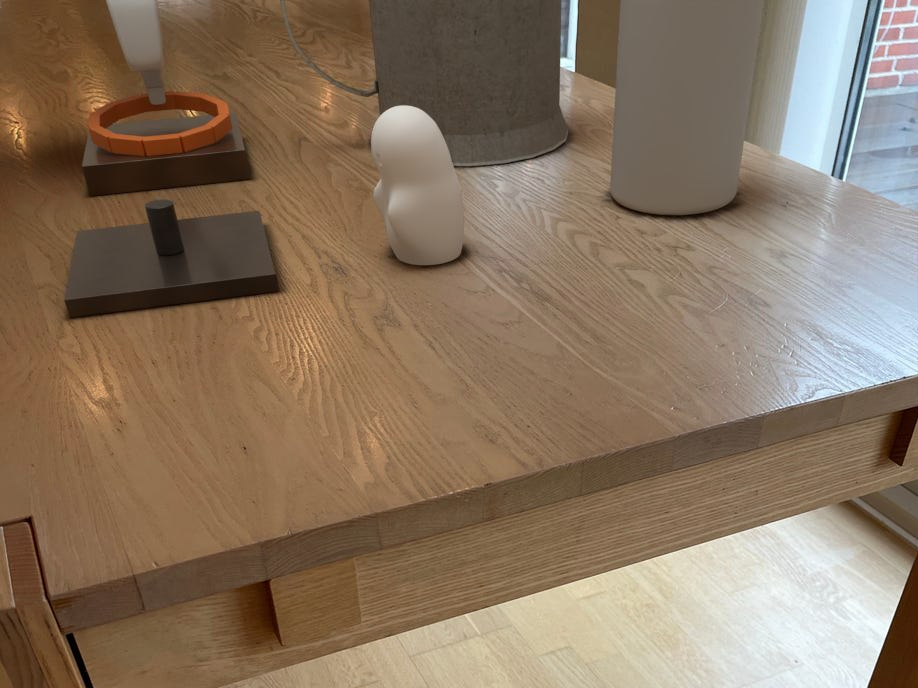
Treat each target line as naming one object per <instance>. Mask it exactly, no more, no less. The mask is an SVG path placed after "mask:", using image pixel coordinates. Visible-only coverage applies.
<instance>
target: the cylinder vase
mask: <svg viewBox="0 0 918 688" xmlns="http://www.w3.org/2000/svg"><path fill="white" fill-rule="evenodd" d="M619 2H620V3H619V6H620V7H619V22H618V36H617V37H618V40H617V56H616V57H617V59H616V74H615V90H614V91H615V93H614V110H613V126H612V127H613V128H612V145H611V146H612V147H611V162H610V163H611V165H610V180H609V181H610V182H609V191H610V192H609V193H610V195H611V197H612V198H613V199H614V200H615V201H616V202H617V203H618V204H619V205H621V206H623V207H625V208H627V209H630V210H633V211H636V212H640V213H643V214H644V213H645V214H651V215H657V216H658V215H659V216H690V215H698V214H704V213H709V212H713V211H716V210H719V209H721V208H724V207H726V206H727V205H729V204H730V203H731V202H732V201H733V200H734V198H735V197H736V195H737V193H738V187H739V180H740V173H741V165H742V159H743V152H744V143H745V137H746V130H747V122H748V118H749V117H748V115H749V108H750V101H751V95H752V86H753V80H754V73H755V65H756V59H757V54H758V53H757V51H758V44H759V38H760V31H761V23H762V16H763V9H764V4H765V3H764V2H765V0H620V1H619Z"/></svg>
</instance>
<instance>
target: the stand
mask: <svg viewBox="0 0 918 688" xmlns="http://www.w3.org/2000/svg"><path fill="white" fill-rule="evenodd" d="M229 113H230V118H231V124H232V130H231V131H230V132H229V133H227V134H226V135H225V136H224V137H222V138H221V139H220V140H219V141H217V142H215V143H213V144H210V145H207V146H204V147H200V148H197V149H194V150H191V151H188V152H184V151H183V153H176V154H166V155H156V156H147V155H146V156H135V155H126V154H116V153H113V152H112V153H111V152H109V151H107V150H105V149H103V148H101V147H99V146H97V145H95V144H93V142H92V139H91V135H90V132H89V131H88V133H87V139H86V144H85V147H84V153H83V159H82V163H81V169H82V172H83V176H84V178H85V180H84V181H85V183H86V186H87V190H88V194H89V196H90V197H96V196H104V195H115V194H124V193H133V192H141V191H142V192H143V191H151V190H162V189H171V188H181V187H188V186H189V187H191V186H198V185H208V184H217V183H227V182H236V181H238V182H239V181H245V180H251V175H250V169H249V164H248V158H247V152H246V147H245V144H244V140H243V137H242V132H241V128H240V124H239V121H238V116H237V113H236V112H229ZM214 118H215V117H214V116H212V115H209V114H206V115H194V116H183V117H174V118H163V119H153V120H142V121H141V120H140V121H131V122H121V123H114V124H112V125H111V126H109V127H108V128H106V129H107V130H109V131H111V132H113V133H115V134H122V135H132V136H142V137H148V136H158V135H168V134H178V133H181V132H185V131H188V130H191V129H195V128H198V127H201V126H204V125H206V124H207V123H209V122H210V121H211V120H212V119H214Z"/></svg>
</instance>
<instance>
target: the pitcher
mask: <svg viewBox="0 0 918 688" xmlns="http://www.w3.org/2000/svg"><path fill="white" fill-rule="evenodd" d="M279 1H280V8H281V13H282V18H283V21H284V25H285V29H286V32H287V35H288V37H289V40H290V42H291V44H292V45H293V48H294V49H295V50H296V52H297V53H298V55H299V56H300V57H301V58H302V60H303V61H304V62H305V63H306V64H307V65H308V66H309V67H310V68H311V69H312V70H313V71H314V72H315V73H317V74H318V75H319V76H320V77H321V78H323V79H324V80H326V81H327V82H328V83H330V84H331V85H333V86H335V87H337V88H339V89H341V90H343V91H345V92H347V93H350V94H353V95H356V96H359V97H366V98H369V97H371V96H374V95H376V94H377V100H378V110H379V111H378V112H379V114H378V118H379V117H380V115H381V114H382V113H384V112H385V111H386V110H388V109H390V108H392V107H395V106H401V105H406V106H413V107H416V108H419V109H421V110H422V111H424V112H425V113H426V114H427V115H429V116H430V117H431V118H432V119H433V120H434V122H435V123H436V124H437V126H438V128H439V129H440V131H441V133H442V135H443V138H444V140H445V142H446V144H447V147H448V150H449V153H450V156H451V160H452V163H453V167H482V166H492V165H503V164H509V163H512V162H513V163H514V162H518V161H523V160H528V159H533V158H535V157H538V156H541V155H543V154H547V153H549V152H552V151H555V150H556V149H557V148H559V147H560V146H561V145H563V144H564V143H565V142H566V141H567V139H568V134H569V129H568V127H567V124H566V120H565V118H564V115H563V114H564V113H563V111H562V109H561V106H560V101H561V100H560V99H561V98H560V97H561V95H560V93H561V54H562V53H561V47H562V44H561V43H562V3H563V2H562V1H563V0H368V3H369V4H368V5H369V17H370V27H371V38H372V48H373V58H374V59H373V60H374V68H375V79H373V88H371V89H370V90H361V89H357V88H354V87H352V86H349V85H347V84H344V83H343V82H341V81H339V80H337V79H334V78H333V77H331V76H330V75H329V74H327V73H325V71H323V70H322V69H321V68H320V67H318V66H317V65H316V64H315V63H314V62H313V61H312V60H311V59H310V57H308V56H307V55H306V53H305V52H304V51H303V50H302V48H301V47H300V45H299V44H298V42H297V40H296V39H295V36H294V34H293V32H292V29H291V26H290V21H289V18H288V13H287V9H286V3H285V0H279Z"/></svg>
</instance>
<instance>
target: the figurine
mask: <svg viewBox="0 0 918 688" xmlns="http://www.w3.org/2000/svg"><path fill="white" fill-rule="evenodd" d="M370 151H371V157H372V160H373V163H374V165H375V167H376V169H377V171H378V174H379V175H380V179H379V181H378V182H377V184H376V185H375V188H374V189H373V201H374V203H375V206H376V208H377V210H378V212H379V214H380V215H381V217H382V219H383V221H384V223H385V229H386V235H387V239H388V242H389V245H390V248H391V250H392V252H393V254H394V255H395V257H396V259H397V260H398V261H400V262H403V263H405V264H409V265H414V266H435V265H440V264H446V263H448V262H449V263H450V262H451V261H454V260H456V259H457V258H458V257H460V256H461V254H462V250H463V244H464V235H465V208H464V200H463V194H462V188H461V185H460V181H459V179H458V178H459V177H458V175H457V172H456V169H455V166H453V163H452V160H451V156H450V153H449V150H448V147H447V144H446V142H445V140H444V138H443V135H442V133H441V131H440V129H439V128H438V126H437V124H436V123H435V122H434V120H433V119H432V118H431V117H430V116H429V115H427V114H426V113H425V112H424V111H422V110H421V109H419V108H416V107H413V106H406V105H401V106H395V107H392V108H390V109H388V110H386V111H385V112H384V113H382V114H381V115H380V117H379V116H378V117H377V119H376V121H375V123H374V125H373V128H372V132H371V137H370Z"/></svg>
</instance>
